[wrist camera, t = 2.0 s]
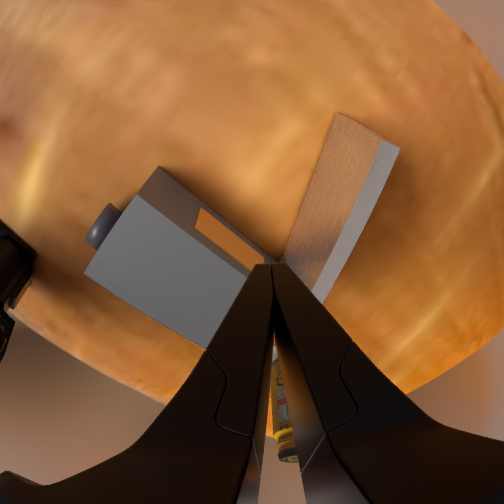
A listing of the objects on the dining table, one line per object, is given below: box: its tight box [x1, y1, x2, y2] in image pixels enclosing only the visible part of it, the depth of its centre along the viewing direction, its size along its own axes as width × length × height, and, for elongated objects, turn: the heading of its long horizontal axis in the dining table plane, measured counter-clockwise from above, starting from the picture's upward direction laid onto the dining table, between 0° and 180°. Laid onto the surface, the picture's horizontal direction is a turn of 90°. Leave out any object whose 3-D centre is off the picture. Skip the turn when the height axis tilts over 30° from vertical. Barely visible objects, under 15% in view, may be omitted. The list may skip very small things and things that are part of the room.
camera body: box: [84, 166, 286, 349], centre depth 19 cm, size 14×9×7 cm, turn 45°
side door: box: [284, 113, 401, 304], centre depth 16 cm, size 11×2×7 cm, turn 165°
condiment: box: [270, 346, 299, 463], centre depth 27 cm, size 7×8×12 cm
